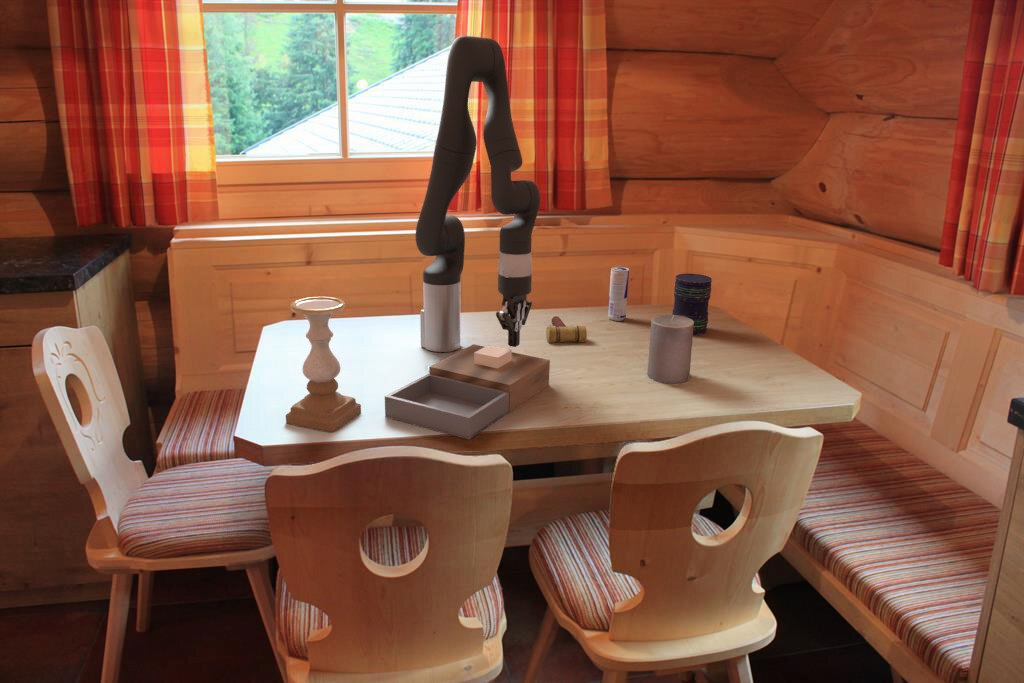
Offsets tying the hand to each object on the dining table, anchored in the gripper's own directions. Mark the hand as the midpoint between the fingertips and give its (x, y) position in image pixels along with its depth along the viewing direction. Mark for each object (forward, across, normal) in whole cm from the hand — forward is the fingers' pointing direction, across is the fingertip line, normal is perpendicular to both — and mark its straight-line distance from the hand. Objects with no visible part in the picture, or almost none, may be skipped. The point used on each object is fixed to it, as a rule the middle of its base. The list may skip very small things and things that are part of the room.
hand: (513, 345), depth 183 cm
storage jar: (+8, -57, +24) cm, 62 cm away
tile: (+1, +9, 0) cm, 9 cm away
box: (+7, +27, 0) cm, 28 cm away
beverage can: (+7, -56, +3) cm, 57 cm away
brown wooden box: (+7, +10, 0) cm, 12 cm away
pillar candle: (+8, -19, +31) cm, 37 cm away
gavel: (+8, -36, -6) cm, 38 cm away
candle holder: (+7, +41, -20) cm, 47 cm away
